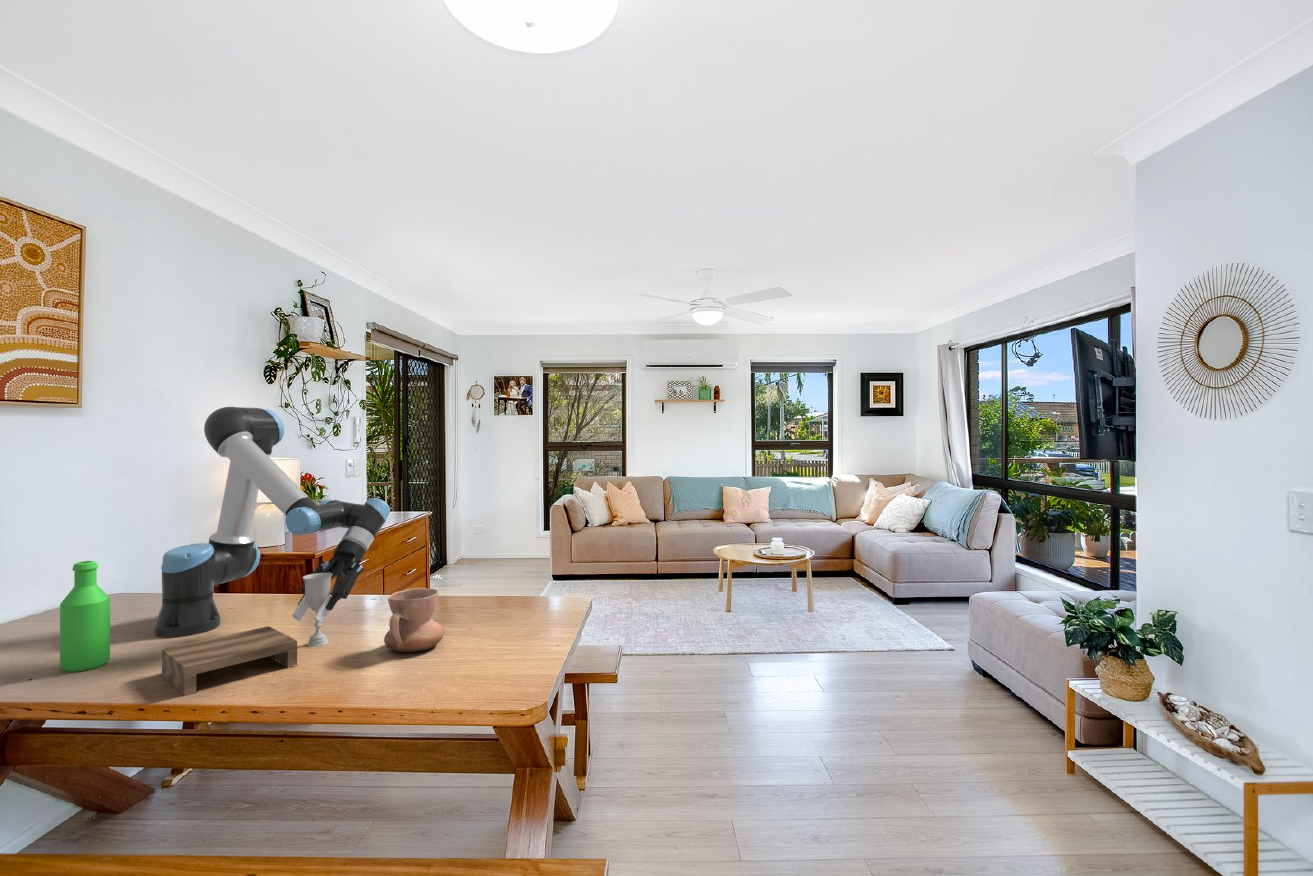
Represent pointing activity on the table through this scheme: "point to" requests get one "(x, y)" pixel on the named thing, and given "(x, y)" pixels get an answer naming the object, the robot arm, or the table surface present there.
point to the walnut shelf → (224, 654)
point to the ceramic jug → (413, 620)
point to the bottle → (84, 622)
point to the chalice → (317, 601)
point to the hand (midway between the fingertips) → (306, 619)
